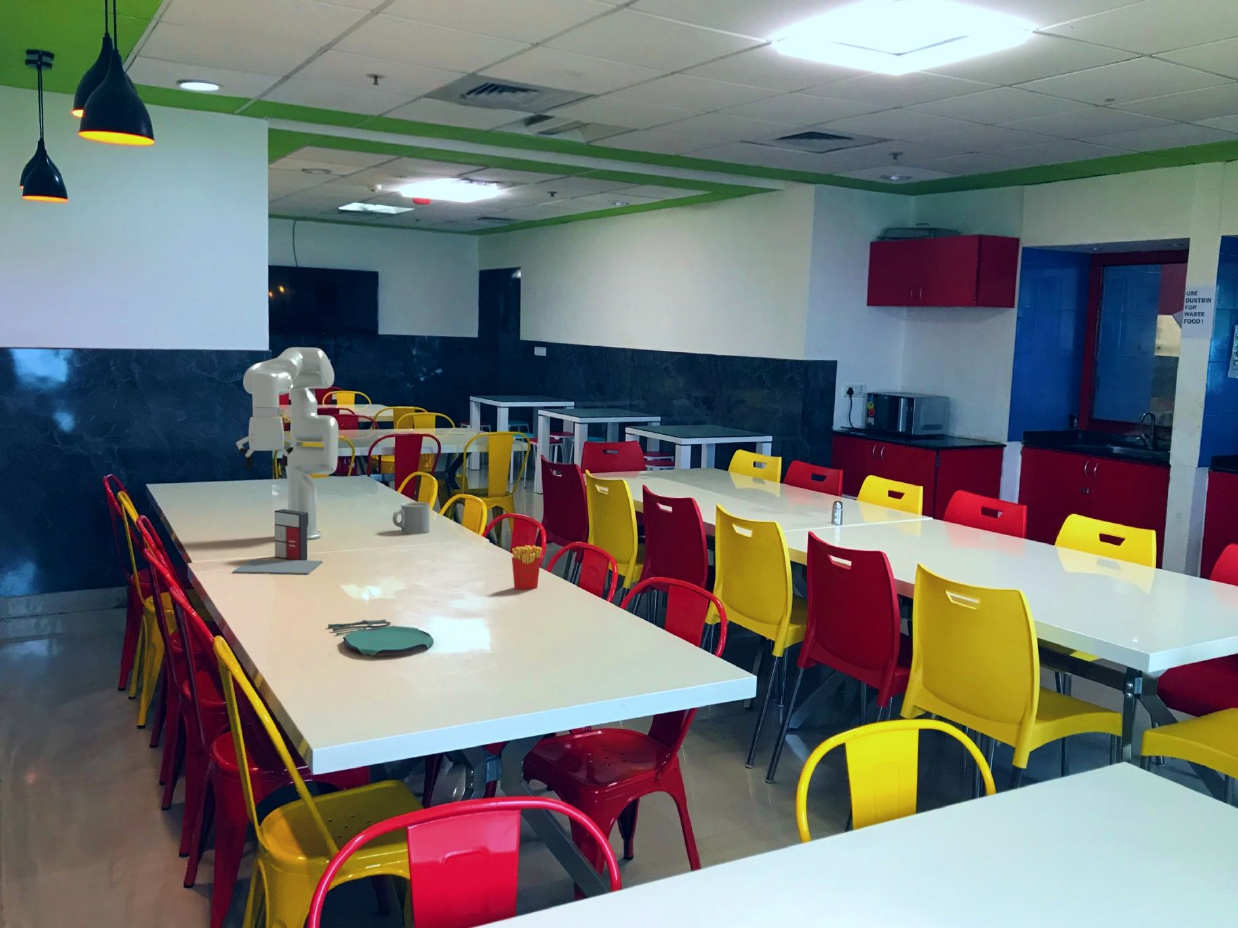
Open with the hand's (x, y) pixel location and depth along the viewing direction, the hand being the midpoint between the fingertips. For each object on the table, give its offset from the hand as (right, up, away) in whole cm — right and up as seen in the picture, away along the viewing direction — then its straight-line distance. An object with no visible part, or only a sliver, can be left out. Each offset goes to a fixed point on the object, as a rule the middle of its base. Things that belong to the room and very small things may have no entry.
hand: (267, 469), depth 307 cm
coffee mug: (+32, -23, +58) cm, 70 cm away
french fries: (+81, -34, -18) cm, 89 cm away
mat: (+4, -30, -2) cm, 30 cm away
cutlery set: (+51, -40, -69) cm, 95 cm away
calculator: (+4, -28, +11) cm, 31 cm away
